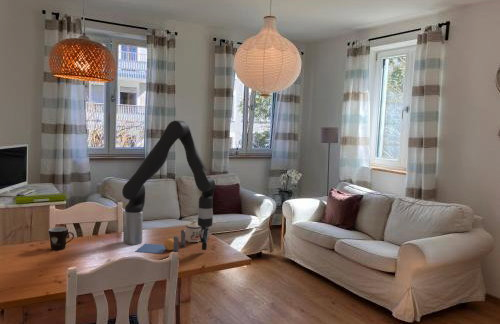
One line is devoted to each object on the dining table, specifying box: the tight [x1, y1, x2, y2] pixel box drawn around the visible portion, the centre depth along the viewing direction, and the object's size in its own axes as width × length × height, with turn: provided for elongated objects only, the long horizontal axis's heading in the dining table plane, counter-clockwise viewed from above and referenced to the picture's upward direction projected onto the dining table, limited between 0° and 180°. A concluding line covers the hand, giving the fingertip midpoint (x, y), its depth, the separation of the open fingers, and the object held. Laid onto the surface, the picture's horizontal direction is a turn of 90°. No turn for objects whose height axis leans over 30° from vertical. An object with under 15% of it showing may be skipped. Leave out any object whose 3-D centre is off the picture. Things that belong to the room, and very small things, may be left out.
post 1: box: [172, 235, 180, 253], centre depth 200 cm, size 2×2×9 cm
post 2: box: [180, 229, 187, 248], centre depth 212 cm, size 2×2×9 cm
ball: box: [163, 238, 174, 251], centre depth 206 cm, size 6×6×6 cm
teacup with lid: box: [185, 219, 202, 243], centre depth 225 cm, size 12×9×12 cm
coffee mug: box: [48, 226, 75, 252], centre depth 200 cm, size 12×9×10 cm
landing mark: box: [134, 242, 167, 255], centre depth 208 cm, size 14×14×1 cm
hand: (204, 249), depth 205 cm, fingers closed
